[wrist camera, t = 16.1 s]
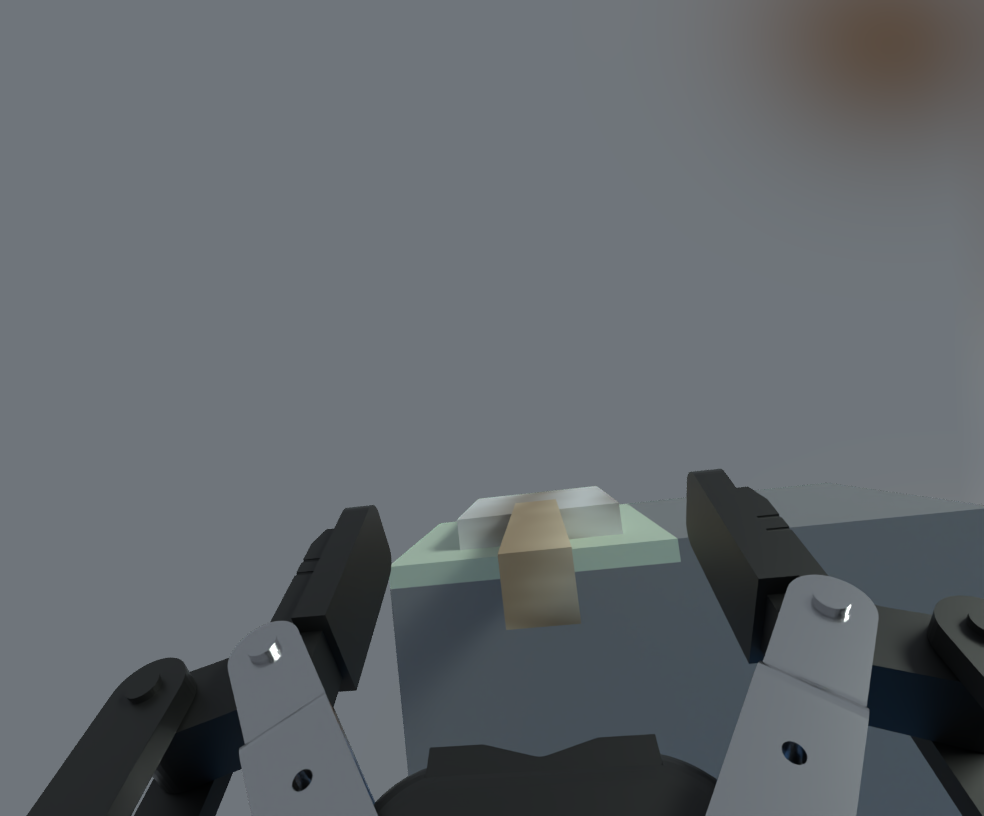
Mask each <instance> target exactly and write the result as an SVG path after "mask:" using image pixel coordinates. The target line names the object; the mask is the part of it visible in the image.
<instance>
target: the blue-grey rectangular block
mask: <svg viewBox="0 0 984 816" xmlns="http://www.w3.org/2000/svg"><path fill="white" fill-rule="evenodd" d="M755 491H756V492H757V493H759V494H760V495H762V496H764V497H765V498H767V499H768V500H769V502H770V503H771V504H772V505H773V507H774V508H775V509H776V510H777V512H778V513H779V516H780V517H782V518H783V519H784V521H785V522H786V523H787V524H788V526H789V529H790V530H792V531H793V532H794V533H795V534H796V536H797V537H798V538H799V539H800V541H801V542H802V543H803V544H804V546H805V547H806V548H807V549H808V551H809V552H810V553H811V555H812V556H813V557H814V558H815V560H816V561H817V562H818V563H819V565H820V566H821V567H822V568H823V570H824V571H825V572H826V573H827V575H828V576H830V577H834V578H837V579H840V580H843V581H845V582H847V583H849V584H851V585H853V586H855V587H856V588H858V589H859V590H861V591H862V592H863V593H865V594H866V595H867V596H868V597H869V598H870V599H871V601H872V602H873V603H874V604H875V605H879V606H883V607H888V608H893V609H900V610H906V611H912V612H919V613H925V614H931V615H932V614H933V611H934V608H935V606H936V604H937V603H938V602H939V601H940V600H941V599H943V598H946V597H950V596H958V595H959V596H972V597H978V598H982V599H984V505H980V504H973V503H965V502H959V501H952V500H945V499H937V498H930V497H923V496H916V495H909V494H902V493H895V492H888V491H881V490H874V489H867V488H860V487H853V486H845V485H838V484H832V483H821V484H812V485H802V486H793V487H783V488H774V489H764V490H755ZM686 503H687V498H678V499H669V500H659V501H650V502H640V503H631V504H622V505H619V507H620V515H621V522H622V530H623V534H618V535H608V536H598V537H588V538H578V539H569V541H570V544H571V547H572V555H573V563H574V570H575V578H576V586H577V594H578V602H579V610H580V618H581V624H571V625H559V626H547V627H536V628H524V629H512V630H506V624H505V615H504V606H503V598H502V589H501V580H500V572H499V563H498V551H499V549H500V546H498V547H488V548H478V549H468V550H460V544H459V535H458V525H457V522H450V523H440V524H439V525H438V526H436V527H435V528H434V529H433V530H432V531H431V532H429V533H428V534H427V535H426V536H425V537H423V539H421V540H420V541H419V542H417V543H416V544H415V545H414V546H413V547H411V548H410V549H409V550H408V551H407V552H405V554H403V555H402V556H401V557H400V558H398V559H397V560H396V561H395V562H394V563H393V564H391V573H390V577H389V581H390V591H391V600H392V611H393V621H394V631H395V641H396V653H397V663H398V672H399V683H400V693H401V703H402V714H403V724H404V734H405V744H406V755H407V764H408V776H410V775H412V774H414V773H416V772H418V771H420V770H422V769H425V768H427V763H428V756H429V749H430V748H431V747H447V746H464V745H480V744H484V745H488V746H493V747H497V748H501V749H506V750H510V751H515V752H519V753H523V754H528V755H532V756H538V757H541V756H547V755H549V754H552V753H555V752H558V751H561V750H564V749H566V748H569V747H572V746H575V745H578V744H581V743H583V742H586V741H589V740H592V739H595V738H598V737H613V736H630V735H646V734H655V736H656V740H657V744H658V747H659V751H660V754H663V755H667V756H671V757H674V758H677V759H680V760H682V761H685V762H687V763H690V764H692V765H694V766H696V767H698V768H700V769H702V770H703V771H705V772H707V773H708V774H710V775H711V776H713V777H715V778H716V779H717V780H718V777H719V774H720V771H721V768H722V765H723V763H724V760H725V757H726V754H727V751H728V748H729V745H730V742H731V739H732V736H733V733H734V730H735V727H736V724H737V721H738V718H739V716H740V713H741V710H742V707H743V704H744V701H745V698H746V695H747V692H748V689H749V686H750V683H751V680H752V677H753V674H754V672H755V669H756V666H757V664H758V663H753V664H749V663H748V661H747V659H746V657H745V655H744V653H743V651H742V649H741V647H740V645H739V643H738V641H737V639H736V637H735V635H734V633H733V631H732V628H731V626H730V624H729V622H728V620H727V618H726V616H725V614H724V612H723V610H722V608H721V606H720V604H719V602H718V600H717V598H716V596H715V594H714V592H713V590H712V588H711V586H710V584H709V582H708V580H707V578H706V576H705V573H704V571H703V569H702V567H701V565H700V563H699V561H698V559H697V557H696V555H695V553H694V551H693V549H692V547H691V544H690V541H689V538H688V534H687V528H686ZM856 816H962V815H961V813H960V811H959V810H958V808H957V807H956V805H955V804H954V802H953V801H952V799H951V798H950V796H949V795H948V793H947V791H946V790H945V788H944V787H943V785H942V784H941V782H940V781H939V779H938V778H937V776H936V775H935V773H934V771H933V770H932V768H931V767H930V765H929V764H928V762H927V761H926V759H925V758H924V756H923V755H922V753H921V751H920V750H919V748H918V747H917V745H916V744H915V742H914V741H913V739H912V738H911V736H909V735H905V734H901V733H897V732H892V731H888V730H884V729H880V728H875V727H871V726H868V729H867V737H866V745H865V752H864V760H863V768H862V775H861V783H860V791H859V798H858V806H857V814H856Z"/></svg>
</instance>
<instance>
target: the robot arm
mask: <svg viewBox="0 0 984 816" xmlns="http://www.w3.org/2000/svg"><path fill="white" fill-rule="evenodd" d="M686 528H687V534H688V538H689V541H690V544H691V547H692V549H693V551H694V553H695V555H696V557H697V559H698V561H699V563H700V565H701V567H702V569H703V571H704V573H705V576H706V578H707V580H708V582H709V584H710V586H711V588H712V590H713V592H714V594H715V596H716V598H717V600H718V602H719V604H720V606H721V608H722V610H723V612H724V614H725V616H726V618H727V620H728V622H729V624H730V626H731V628H732V631H733V633H734V635H735V637H736V639H737V641H738V643H739V645H740V647H741V649H742V651H743V653H744V655H745V657H746V659H747V661H748V663H749V664H753V663H758V664H757V666H756V669H755V672H754V674H753V677H752V680H751V683H750V686H749V689H748V692H747V695H746V698H745V701H744V704H743V707H742V710H741V713H740V716H739V718H738V721H737V724H736V727H735V730H734V733H733V736H732V739H731V742H730V745H729V748H728V751H727V754H726V757H725V760H724V763H723V765H722V768H721V771H720V774H719V777H718V780H717V779H716V778H715V777H713V776H711V775H710V774H708V773H707V772H705V771H703V770H702V769H700V768H698V767H696V766H694V765H692V764H690V763H687V762H685V761H682V760H680V759H677V758H674V757H671V756H667V755H663V754H660V751H659V747H658V744H657V740H656V736H655V734H646V735H630V736H613V737H598V738H595V739H592V740H589V741H586V742H583V743H581V744H578V745H575V746H572V747H569V748H566V749H564V750H561V751H558V752H555V753H552V754H549V755H547V756H541V757H538V756H532V755H528V754H523V753H519V752H515V751H510V750H506V749H501V748H497V747H493V746H488V745H484V744H480V745H464V746H447V747H431V748H430V749H429V756H428V763H427V768H425V769H422V770H420V771H418V772H416V773H414V774H412V775H410V776H408V777H406V778H405V779H403V780H402V781H400V782H399V783H397V784H396V785H394V786H393V787H392V788H391V789H389V790H388V791H387V792H386V793H385V794H383V795H382V796H381V797H380V798H379V799H378V800H377V801H376V802H375V800H374V798H373V796H372V794H371V792H370V789H369V787H368V785H367V783H366V781H365V778H364V776H363V774H362V771H361V769H360V767H359V765H358V762H357V760H356V757H355V755H354V753H353V750H352V748H351V746H350V744H349V741H348V739H347V737H346V734H345V732H344V730H343V728H342V725H341V723H340V721H339V718H338V716H337V714H336V712H335V709H334V703H335V700H336V697H337V694H338V692H339V691H340V692H341V691H354V690H357V687H358V683H359V680H360V676H361V673H362V669H363V666H364V662H365V659H366V656H367V652H368V649H369V645H370V642H371V638H372V635H373V632H374V628H375V625H376V621H377V618H378V615H379V611H380V608H381V604H382V601H383V597H384V594H385V591H386V587H387V584H388V580H389V577H390V573H391V553H390V548H389V545H388V542H387V539H386V536H385V532H384V529H383V526H382V523H381V519H380V516H379V513H378V510H377V508H376V507H375V506H374V505H370V506H361V507H352V508H345V509H344V510H343V512H342V514H341V516H340V518H339V520H338V522H337V524H336V526H335V528H334V529H327V530H325V531H324V532H323V533H322V534H321V535H320V536H319V537H318V538H317V539H316V540H315V541H314V542H313V543H312V544H311V546H310V548H309V550H308V552H307V554H306V555H305V557H304V562H303V563H301V565H300V567H299V569H298V571H297V575H296V576H294V578H293V580H292V582H291V584H290V586H289V588H288V590H287V591H286V593H285V595H284V597H283V599H282V601H281V603H280V605H279V607H278V609H277V611H276V613H275V614H274V616H273V618H272V620H271V622H270V623H267V624H264V625H262V626H260V627H258V628H256V629H255V630H253V631H252V632H250V633H249V634H247V635H246V636H245V637H244V638H243V639H242V640H241V641H240V642H239V643H238V644H237V645H236V647H235V648H234V650H233V651H232V653H231V655H230V657H229V658H227V659H225V660H222V661H219V662H216V663H214V664H211V665H208V666H205V667H203V668H200V669H197V670H194V671H192V672H189V670H188V669H187V667H186V666H185V664H184V663H183V661H181V660H180V659H177V658H165V659H160V660H157V661H154V662H152V663H149V664H147V665H146V666H144V667H142V668H140V669H139V670H137V671H136V672H134V673H133V674H132V675H130V676H129V677H128V678H127V679H125V681H123V682H122V683H121V684H120V685H119V686H118V688H117V689H116V690H115V691H114V692H113V694H112V695H111V697H110V698H109V699H108V701H107V702H106V703H105V705H104V706H103V708H102V709H101V711H100V712H99V713H98V715H97V716H96V718H95V719H94V721H93V722H92V723H91V725H90V726H89V728H88V729H87V731H86V732H85V733H84V735H83V736H82V738H81V739H80V741H79V742H78V744H77V745H76V746H75V748H74V749H73V750H72V752H71V753H70V755H69V756H68V758H67V759H66V760H65V762H64V763H63V765H62V766H61V768H60V769H59V770H58V772H57V773H56V775H55V776H54V778H53V779H52V780H51V782H50V783H49V785H48V786H47V787H46V789H45V790H44V792H43V793H42V795H41V796H40V797H39V799H38V801H37V802H36V803H35V805H34V806H33V807H32V809H31V810H30V812H29V813H28V815H27V816H131V815H132V813H133V811H134V809H135V807H136V805H137V804H138V802H139V800H140V798H141V796H142V794H143V792H144V791H145V789H146V786H147V785H148V783H149V781H150V779H151V778H152V777H153V778H154V779H153V781H152V783H151V785H150V787H149V789H148V791H147V792H146V794H145V796H144V798H143V800H142V802H141V804H140V805H139V807H138V809H137V811H136V813H135V815H134V816H215V815H216V813H217V810H218V808H219V805H220V803H221V801H222V798H223V796H224V793H225V791H226V788H227V786H228V783H229V781H230V778H231V776H232V774H233V772H235V771H237V770H240V769H242V772H243V777H244V781H245V786H246V790H247V795H248V799H249V805H250V809H251V814H252V816H856V814H857V806H858V798H859V791H860V783H861V775H862V768H863V760H864V752H865V745H866V737H867V729H868V726H871V727H875V728H880V729H884V730H888V731H892V732H897V733H901V734H905V735H909V736H911V738H912V739H913V741H914V742H915V744H916V745H917V747H918V748H919V750H920V751H921V753H922V755H923V756H924V758H925V759H926V761H927V762H928V764H929V765H930V767H931V768H932V770H933V771H934V773H935V775H936V776H937V778H938V779H939V781H940V782H941V784H942V785H943V787H944V788H945V790H946V791H947V793H948V795H949V796H950V798H951V799H952V801H953V802H954V804H955V805H956V807H957V808H958V810H959V811H960V813H961V815H962V816H984V599H982V598H978V597H972V596H959V595H958V596H950V597H946V598H943V599H941V600H940V601H939V602H938V603H937V604H936V606H935V608H934V611H933V614H932V615H931V614H925V613H919V612H912V611H906V610H900V609H893V608H888V607H883V606H879V605H875V604H874V603H873V602H872V601H871V599H870V598H869V597H868V596H867V595H866V594H865V593H863V592H862V591H861V590H859V589H858V588H856V587H855V586H853V585H851V584H849V583H847V582H845V581H843V580H840V579H837V578H834V577H830V576H828V575H827V573H826V572H825V571H824V570H823V568H822V567H821V566H820V565H819V563H818V562H817V561H816V560H815V558H814V557H813V556H812V555H811V553H810V552H809V551H808V549H807V548H806V547H805V546H804V544H803V543H802V542H801V541H800V539H799V538H798V537H797V536H796V534H795V533H794V532H793V531H792V530H790V529H789V526H788V524H787V523H786V522H785V521H784V519H783V518H782V517H780V516H779V513H778V512H777V510H776V509H775V508H774V507H773V505H772V504H771V503H770V502H769V500H768V499H767V498H765V497H764V496H762V495H760V494H759V493H757V492H756V491H754V490H752V489H751V488H749V487H741V488H736V487H735V486H734V484H733V483H732V481H731V480H730V479H729V477H728V476H727V475H726V473H725V472H724V471H723V470H722V469H715V470H705V471H695V472H690V473H689V474H688V477H687V503H686Z"/></svg>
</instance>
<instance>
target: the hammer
mask: <svg viewBox="0 0 984 816" xmlns="http://www.w3.org/2000/svg"><path fill="white" fill-rule="evenodd" d="M457 525H458V535H459V544H460V550H468V549H478V548H488V547H498V546H500V549H499V551H498V563H499V572H500V580H501V589H502V598H503V606H504V615H505V624H506V630H512V629H524V628H536V627H547V626H559V625H571V624H581V618H580V610H579V602H578V594H577V586H576V578H575V570H574V563H573V555H572V547H571V544H570V541H569V539H578V538H588V537H598V536H608V535H618V534H623V530H622V522H621V515H620V507H619V503H618V502H617V501H616V500H614V499H613V498H612V497H610V496H609V495H608V494H606V493H605V492H604V491H602V490H601V489H600V488H598V487H597V486H593V487H583V488H575V489H565V490H556V491H546V492H537V493H528V494H519V495H510V496H500V497H492V498H482V499H478V500H477V501H476V502H475V503H474V504H473V505H472V506H471V507H470V508H469V509H468V510H466V512H464V513H463V514H462V516H460V517H459V518H458V519H457Z"/></svg>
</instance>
